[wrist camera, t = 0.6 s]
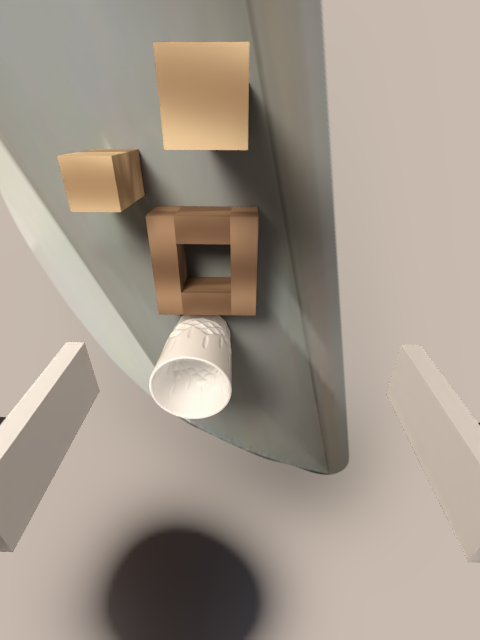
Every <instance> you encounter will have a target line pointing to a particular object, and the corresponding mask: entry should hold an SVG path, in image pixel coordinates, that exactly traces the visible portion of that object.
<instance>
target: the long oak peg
mask: <svg viewBox="0 0 480 640" xmlns="http://www.w3.org/2000/svg"><path fill="white" fill-rule="evenodd" d="M153 44H154V54H155V64H156V73H157V83H158V93H159V103H160V112H161V122H162V132H163V142H164V150H248V113H249V42H153Z"/></svg>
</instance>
